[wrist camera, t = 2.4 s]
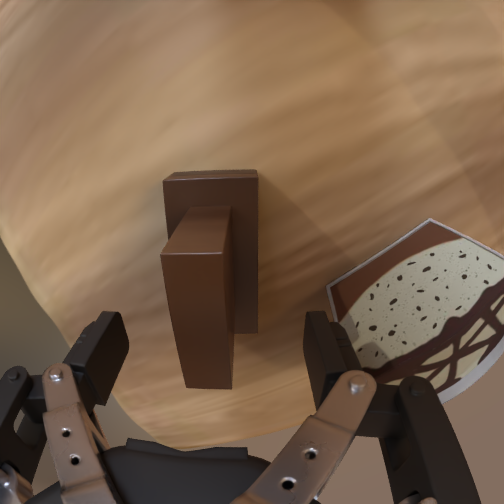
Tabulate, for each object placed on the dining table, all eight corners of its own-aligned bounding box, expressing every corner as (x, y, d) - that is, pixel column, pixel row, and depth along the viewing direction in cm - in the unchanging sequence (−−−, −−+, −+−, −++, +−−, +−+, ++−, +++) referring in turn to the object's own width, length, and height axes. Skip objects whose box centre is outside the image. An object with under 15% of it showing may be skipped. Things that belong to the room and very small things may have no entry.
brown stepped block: (174, 172, 17) (116, 213, 9) (256, 169, 17) (265, 208, 9) (188, 310, 21) (164, 404, 13) (256, 310, 21) (261, 407, 13)
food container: (341, 345, 23) (376, 445, 14) (307, 296, 21) (342, 409, 12) (460, 267, 20) (532, 337, 11) (443, 207, 18) (538, 268, 9)
